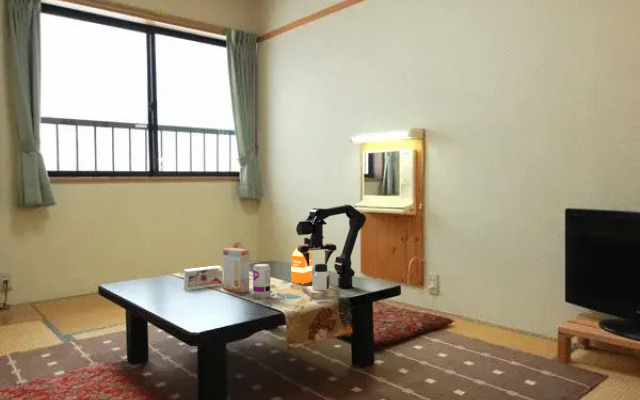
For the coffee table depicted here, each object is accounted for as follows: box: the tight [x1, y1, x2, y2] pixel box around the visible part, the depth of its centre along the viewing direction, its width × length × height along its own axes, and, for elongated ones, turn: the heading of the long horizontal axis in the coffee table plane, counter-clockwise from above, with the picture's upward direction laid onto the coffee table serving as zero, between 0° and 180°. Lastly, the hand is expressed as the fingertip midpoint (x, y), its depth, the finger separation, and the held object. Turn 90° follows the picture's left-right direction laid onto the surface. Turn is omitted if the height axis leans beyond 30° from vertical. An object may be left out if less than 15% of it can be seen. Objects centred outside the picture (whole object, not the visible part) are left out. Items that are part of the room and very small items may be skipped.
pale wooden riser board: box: [301, 285, 341, 299], centre depth 239 cm, size 14×14×2 cm
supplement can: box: [252, 263, 271, 299], centre depth 234 cm, size 8×8×15 cm
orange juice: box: [290, 243, 313, 285], centre depth 266 cm, size 8×9×20 cm
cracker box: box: [222, 246, 250, 294], centre depth 245 cm, size 14×6×21 cm, turn 47°
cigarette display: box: [183, 265, 223, 290], centre depth 255 cm, size 20×6×9 cm, turn 126°
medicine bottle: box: [311, 263, 331, 291], centre depth 239 cm, size 7×7×12 cm
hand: (316, 265), depth 243 cm, fingers open, 9 cm apart
